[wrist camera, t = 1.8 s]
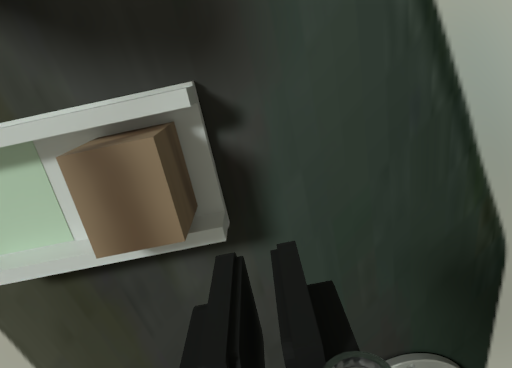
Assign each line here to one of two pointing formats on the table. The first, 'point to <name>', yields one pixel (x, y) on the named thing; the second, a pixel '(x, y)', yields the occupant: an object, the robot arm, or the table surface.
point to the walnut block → (131, 189)
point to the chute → (57, 193)
